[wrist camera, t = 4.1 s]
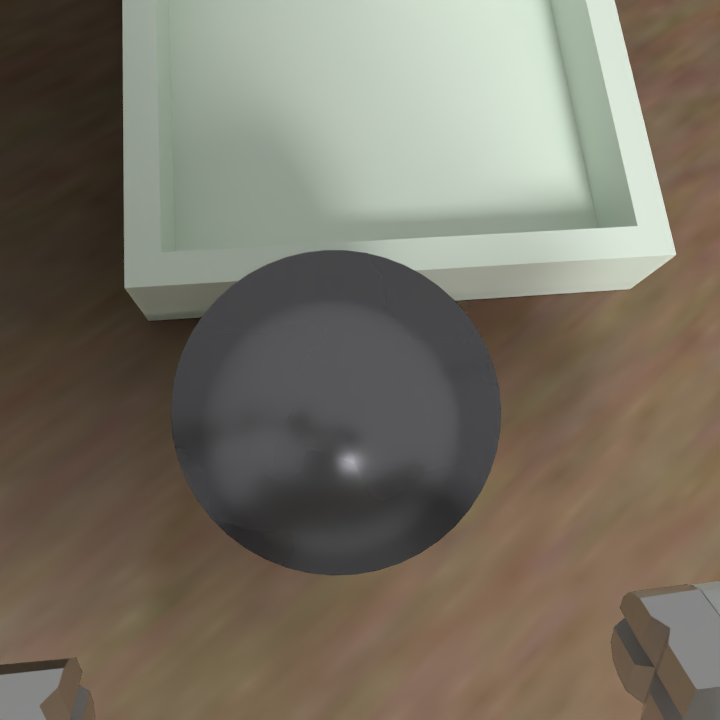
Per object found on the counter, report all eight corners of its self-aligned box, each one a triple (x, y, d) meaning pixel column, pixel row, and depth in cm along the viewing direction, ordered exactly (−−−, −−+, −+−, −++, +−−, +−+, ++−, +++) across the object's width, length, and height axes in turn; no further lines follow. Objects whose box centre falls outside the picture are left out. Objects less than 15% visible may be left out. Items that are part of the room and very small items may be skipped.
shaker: (241, 560, 18) (175, 594, 9) (233, 392, 20) (166, 258, 10) (411, 542, 19) (525, 555, 9) (392, 379, 20) (475, 241, 11)
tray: (148, 320, 20) (124, 288, 17) (141, -81, 24) (121, -159, 21) (630, 288, 22) (676, 254, 19) (548, -81, 26) (576, -153, 23)
